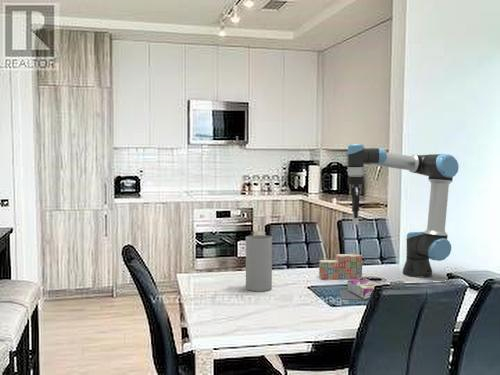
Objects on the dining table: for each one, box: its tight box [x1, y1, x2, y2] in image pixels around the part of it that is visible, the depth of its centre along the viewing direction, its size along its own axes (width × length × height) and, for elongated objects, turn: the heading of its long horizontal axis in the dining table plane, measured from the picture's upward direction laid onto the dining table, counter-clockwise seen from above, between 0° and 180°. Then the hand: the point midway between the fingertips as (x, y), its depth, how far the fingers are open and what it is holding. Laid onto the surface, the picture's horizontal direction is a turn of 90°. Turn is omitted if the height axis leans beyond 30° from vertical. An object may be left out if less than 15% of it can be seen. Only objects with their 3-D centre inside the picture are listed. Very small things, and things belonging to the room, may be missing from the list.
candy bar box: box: [347, 278, 380, 299], centre depth 233 cm, size 11×5×16 cm
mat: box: [338, 289, 370, 301], centre depth 233 cm, size 16×16×1 cm
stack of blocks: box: [318, 253, 363, 281], centre depth 267 cm, size 21×6×12 cm, turn 94°
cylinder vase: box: [245, 234, 273, 293], centre depth 245 cm, size 12×12×25 cm
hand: (355, 224), depth 248 cm, fingers closed
